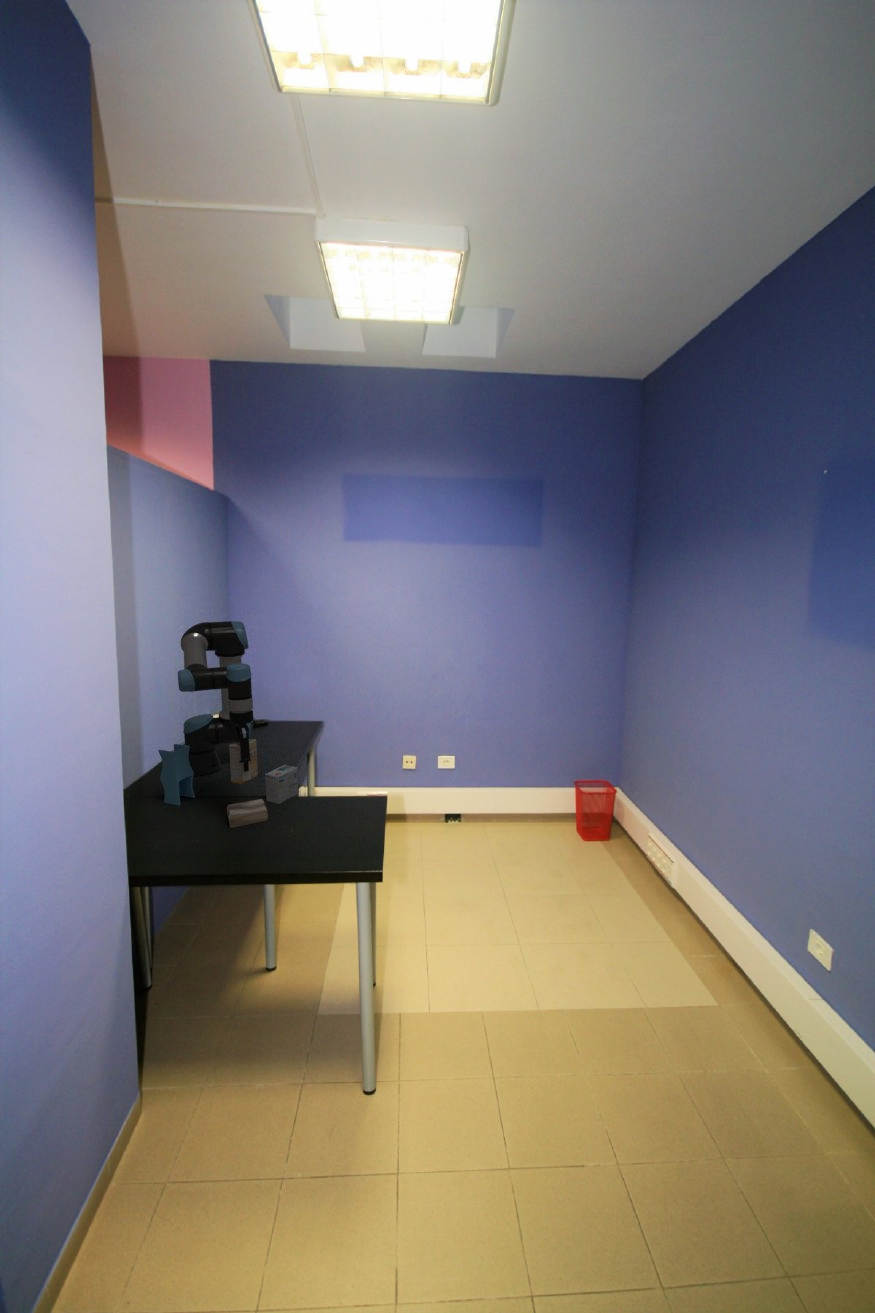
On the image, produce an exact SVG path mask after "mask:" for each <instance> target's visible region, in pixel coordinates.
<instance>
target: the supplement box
mask: <svg viewBox="0 0 875 1313" xmlns="http://www.w3.org/2000/svg"><path fill="white" fill-rule="evenodd" d="M228 748H229V764H230V765H229V766H230V767H229V768H230V781H231V783H235V784H240V785H242V784H245V783H246V782H248V781H249V780H245V781H242V769H241V763H239V761H241V760H242V759H241V746H240V742H234V743H230V744H229V746H228ZM249 748H250V758H251V761H250V771H251V780H252V779H253V778H256V777H257V776H258V775H259V771H258V770H259V768H258V754H257V753H258V752H257V751H258V749H257V739H254V738H249Z"/></svg>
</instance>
